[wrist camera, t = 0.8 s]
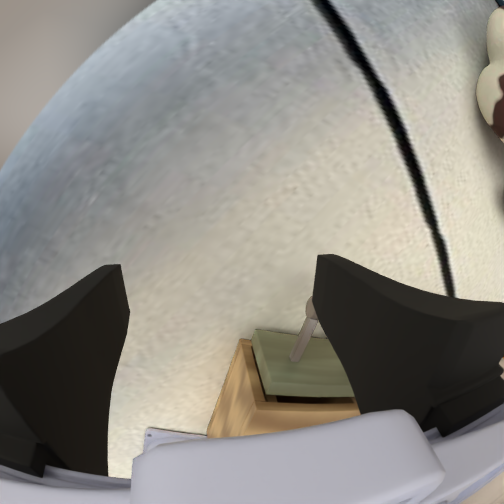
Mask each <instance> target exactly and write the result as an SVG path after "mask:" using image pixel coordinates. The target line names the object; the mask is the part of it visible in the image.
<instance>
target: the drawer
mask: <svg viewBox="0 0 504 504" xmlns="http://www.w3.org/2000/svg"><path fill="white" fill-rule="evenodd" d="M306 316H307V318H306V320H305V322H304V324H303V327H302V329H301V331H300V333H299V335H292V334H285V333H278V332H271V331H264V330H258V329H256V330H255V332H254V335H253V337H252V340H251V343H252V346H253V350H254V354H255V357H256V358H255V359H254V360H255V364H256V368H257V371H258V375H259V379H260V382H261V386H262V390H263V393H264V397H265V400H266V402H277V403H303V404H345V403H357V402H356V399H355V396H354V393H353V390H352V388H351V385H350V382H349V380H348V377H347V374H346V372H345V370H344V368H343V366H342V364H341V362H340V360H339V358H338V356H337V354H336V353H335V351H334V349H333V347H332V345H331V343H330V342H329V340H328V339H323V338H314V337H311V335H312V333H313V331H314V329H315V327H316V325H317V322H318V318H317V315H316V312H315V309H314V306H313V303H312V296H311V297H310V298H309V299H308V301H307V304H306Z"/></svg>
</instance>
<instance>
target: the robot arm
mask: <svg viewBox="0 0 504 504" xmlns="http://www.w3.org/2000/svg"><path fill="white" fill-rule="evenodd" d="M312 303H313V306H314V309H315V312H316V315H317V318H318V320H319V323H320V325H321V327H322V329H323V330H324V332H325V334H326V336H327V338H328V340H329V342H330V343H331V345H332V347H333V349H334V351H335V353H336V354H337V356H338V358H339V360H340V362H341V364H342V366H343V368H344V370H345V372H346V374H347V377H348V380H349V382H350V385H351V388H352V390H353V393H354V396H355V399H356V402H357V405H358V408H359V411H360V414H361V415H358V416H355V417H351V418H347V419H342V420H338V421H334V422H329V423H324V424H319V425H314V426H309V427H304V428H298V429H292V430H286V431H279V432H272V433H264V434H256V435H247V436H236V437H223V438H207V436H204V435H195V434H187V433H179V432H172V431H166V430H160V429H154V428H147V429H146V431H145V439H144V449H143V454H141V455H139V456H137V457H135V458H134V459H133V464H132V477H131V479H125V478H116V477H108V421H109V409H110V400H111V391H112V386H113V381H114V377H115V374H116V370H117V366H118V363H119V359H120V356H121V352H122V349H123V345H124V342H125V338H126V335H127V329H128V323H129V316H130V309H129V305H128V300H127V295H126V291H125V286H124V281H123V275H122V270H121V264H114V265H104V266H102V267H100V268H98V269H96V270H95V271H93V272H92V273H90V274H89V275H87V276H86V277H84V278H83V279H81V280H80V281H78V282H77V283H76V284H74V285H73V286H71V287H70V288H68V289H67V290H65V291H63V292H62V293H60V294H59V295H57V296H56V297H54V298H53V299H51V300H49V301H48V302H46V303H44V304H43V305H41V306H39V307H37V308H35V309H33V310H31V311H29V312H27V313H25V314H23V315H21V316H18V317H16V318H14V319H11V320H9V321H7V322H4V323H1V324H0V504H460V503H461V502H463V501H464V500H466V499H467V498H469V497H470V496H471V495H473V494H474V493H476V492H477V491H479V490H480V489H481V488H483V487H484V486H485V485H487V484H488V483H489V482H491V481H492V480H493V479H495V478H496V477H497V476H498V475H500V474H501V473H502V472H503V471H504V379H503V378H502V377H501V376H500V375H502V374H503V372H504V369H503V368H502V366H501V365H500V364H499V362H500V361H501V359H502V357H503V355H504V303H502V302H488V301H473V300H466V299H459V298H453V297H447V296H443V295H439V294H435V293H430V292H427V291H423V290H420V289H417V288H414V287H411V286H408V285H405V284H402V283H399V282H397V281H394V280H392V279H390V278H387V277H385V276H382V275H380V274H378V273H376V272H374V271H371V270H369V269H367V268H365V267H363V266H361V265H359V264H356V263H354V262H352V261H350V260H348V259H345V258H343V257H340V256H338V255H334V254H325V255H318V256H317V265H316V273H315V281H314V289H313V296H312Z"/></svg>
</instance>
